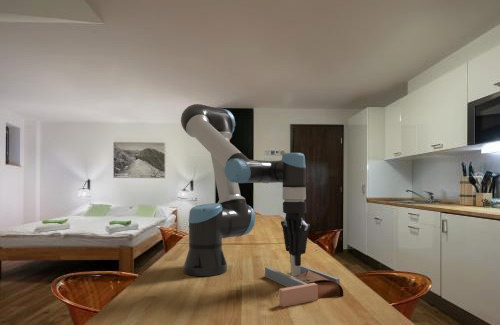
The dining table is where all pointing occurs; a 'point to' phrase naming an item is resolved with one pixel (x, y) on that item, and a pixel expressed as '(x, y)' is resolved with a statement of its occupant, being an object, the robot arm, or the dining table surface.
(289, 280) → the channel
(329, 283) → the sunglasses case
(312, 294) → the gate
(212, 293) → the dining table surface
